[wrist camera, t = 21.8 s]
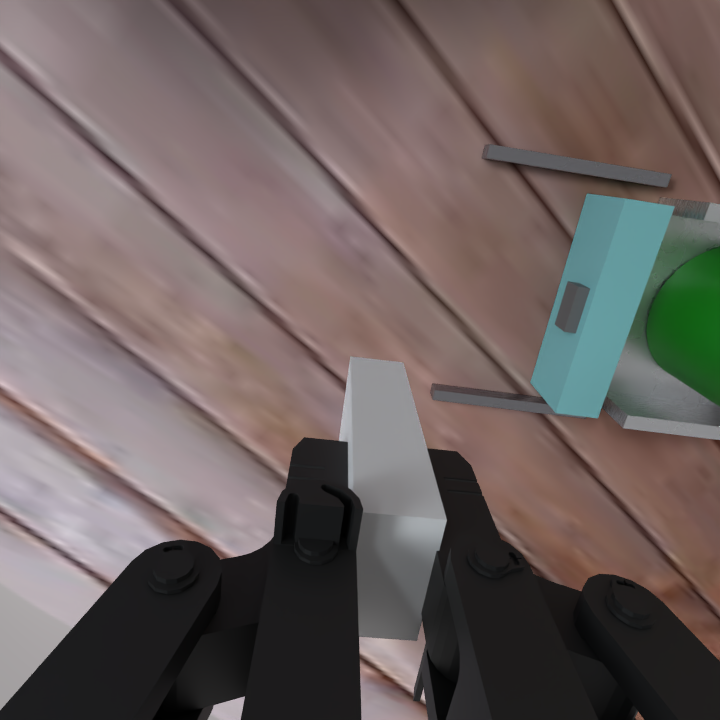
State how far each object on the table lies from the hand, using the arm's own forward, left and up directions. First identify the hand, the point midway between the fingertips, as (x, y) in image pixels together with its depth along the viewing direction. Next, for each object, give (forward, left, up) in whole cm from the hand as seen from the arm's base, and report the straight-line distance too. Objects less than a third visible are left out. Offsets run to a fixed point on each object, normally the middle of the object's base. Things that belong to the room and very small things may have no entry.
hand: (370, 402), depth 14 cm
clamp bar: (0, +16, -22) cm, 27 cm away
